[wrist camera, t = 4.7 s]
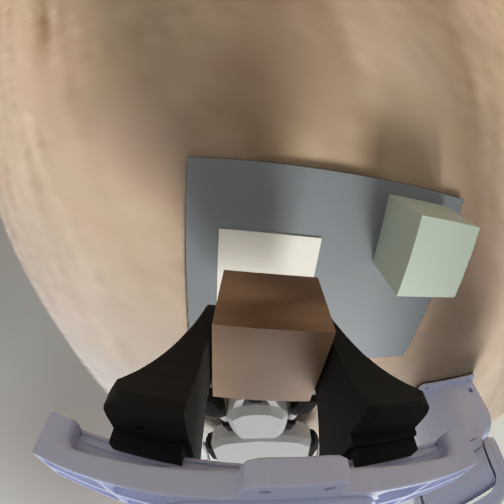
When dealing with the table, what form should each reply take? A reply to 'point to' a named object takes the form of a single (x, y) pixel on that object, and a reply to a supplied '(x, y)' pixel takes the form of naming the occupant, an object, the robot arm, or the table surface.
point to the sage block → (423, 248)
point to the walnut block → (269, 336)
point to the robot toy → (259, 429)
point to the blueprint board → (301, 240)
